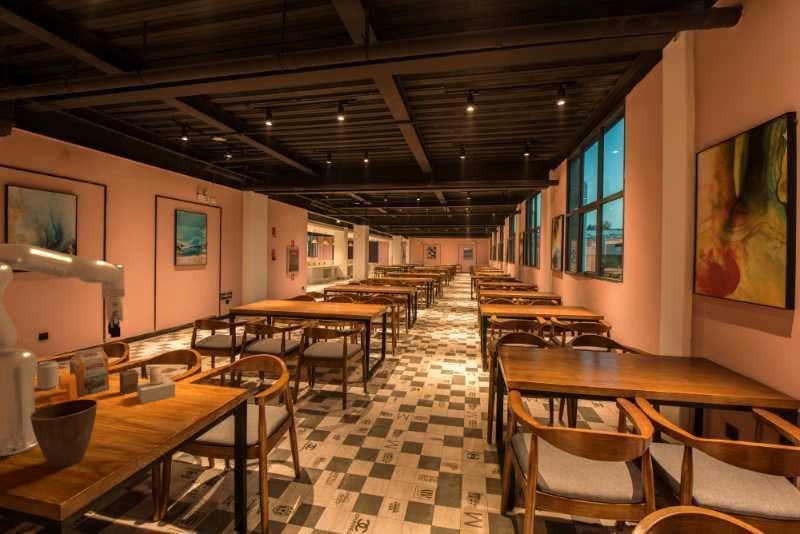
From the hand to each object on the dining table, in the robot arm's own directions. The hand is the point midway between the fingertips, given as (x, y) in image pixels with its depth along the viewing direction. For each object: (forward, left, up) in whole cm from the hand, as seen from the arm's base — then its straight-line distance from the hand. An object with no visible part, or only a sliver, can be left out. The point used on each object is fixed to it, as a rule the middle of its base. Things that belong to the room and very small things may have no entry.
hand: (114, 335), depth 158 cm
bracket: (+12, +16, -28) cm, 35 cm away
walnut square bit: (+12, -6, -28) cm, 31 cm away
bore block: (-2, -14, -28) cm, 32 cm away
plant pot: (-46, +16, -28) cm, 56 cm away
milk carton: (+25, +7, -28) cm, 39 cm away
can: (+44, +21, -28) cm, 57 cm away
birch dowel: (-2, -14, -28) cm, 32 cm away
